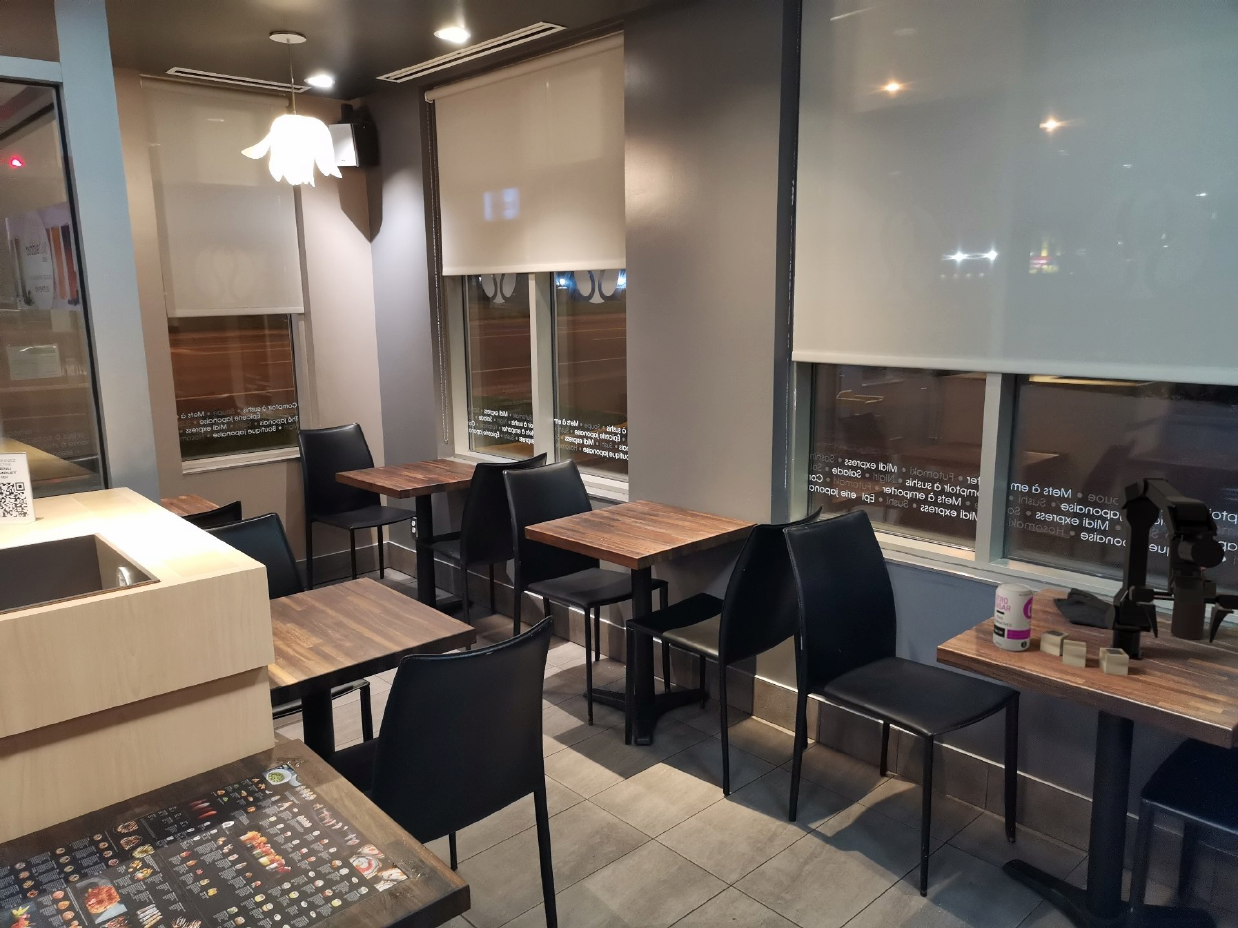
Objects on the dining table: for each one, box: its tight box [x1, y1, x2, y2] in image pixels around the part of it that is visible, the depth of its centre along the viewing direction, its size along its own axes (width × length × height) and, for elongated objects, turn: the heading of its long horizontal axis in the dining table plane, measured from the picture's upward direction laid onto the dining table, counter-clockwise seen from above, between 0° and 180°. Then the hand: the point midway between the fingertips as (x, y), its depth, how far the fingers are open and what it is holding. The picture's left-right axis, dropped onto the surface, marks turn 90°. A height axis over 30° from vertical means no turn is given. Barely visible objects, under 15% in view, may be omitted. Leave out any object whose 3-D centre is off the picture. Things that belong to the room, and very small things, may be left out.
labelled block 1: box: [1039, 628, 1070, 657], centre depth 207 cm, size 4×4×5 cm
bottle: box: [1170, 567, 1210, 640], centre depth 215 cm, size 7×7×20 cm
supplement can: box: [992, 582, 1034, 652], centre depth 210 cm, size 8×8×15 cm
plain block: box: [1062, 639, 1087, 669], centre depth 200 cm, size 4×4×4 cm
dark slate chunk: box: [1052, 587, 1113, 630], centre depth 232 cm, size 15×22×5 cm
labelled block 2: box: [1098, 647, 1130, 676], centre depth 195 cm, size 4×4×5 cm
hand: (1182, 640), depth 174 cm, fingers open, 9 cm apart
